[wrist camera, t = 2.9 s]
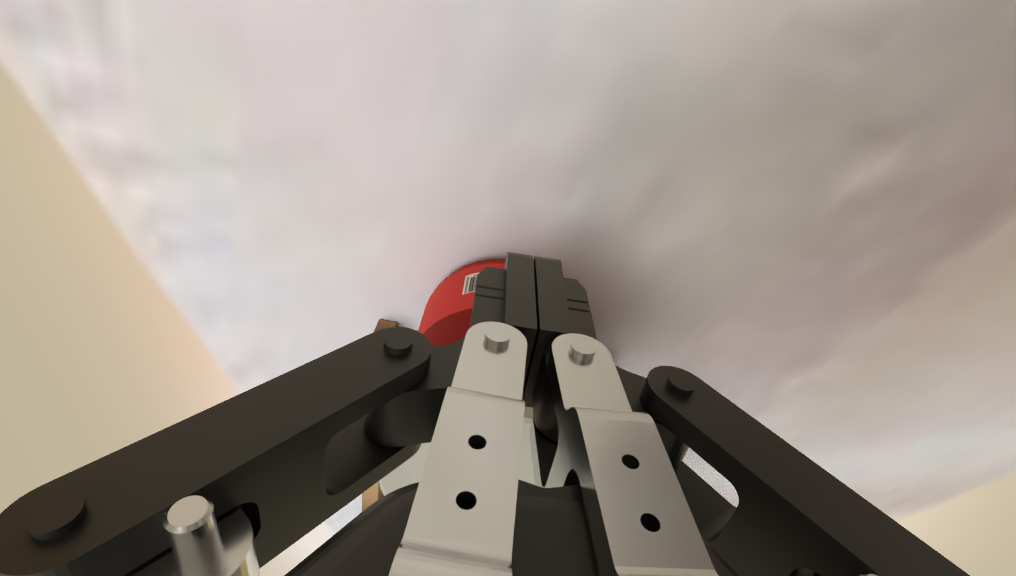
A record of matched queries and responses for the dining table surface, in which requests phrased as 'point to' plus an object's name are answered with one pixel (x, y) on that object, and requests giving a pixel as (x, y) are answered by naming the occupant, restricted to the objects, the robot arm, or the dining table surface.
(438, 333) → the canned food
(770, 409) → the dining table surface
